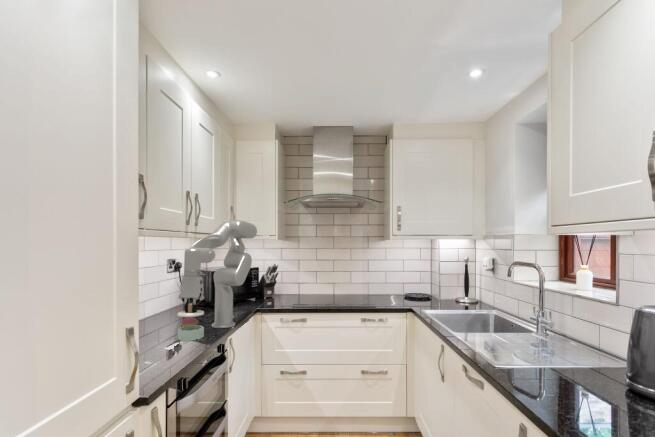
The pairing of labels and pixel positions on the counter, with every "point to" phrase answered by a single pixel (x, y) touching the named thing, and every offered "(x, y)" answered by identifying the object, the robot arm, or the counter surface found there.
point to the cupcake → (189, 321)
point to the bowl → (190, 332)
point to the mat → (171, 346)
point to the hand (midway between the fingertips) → (191, 312)
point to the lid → (190, 312)
